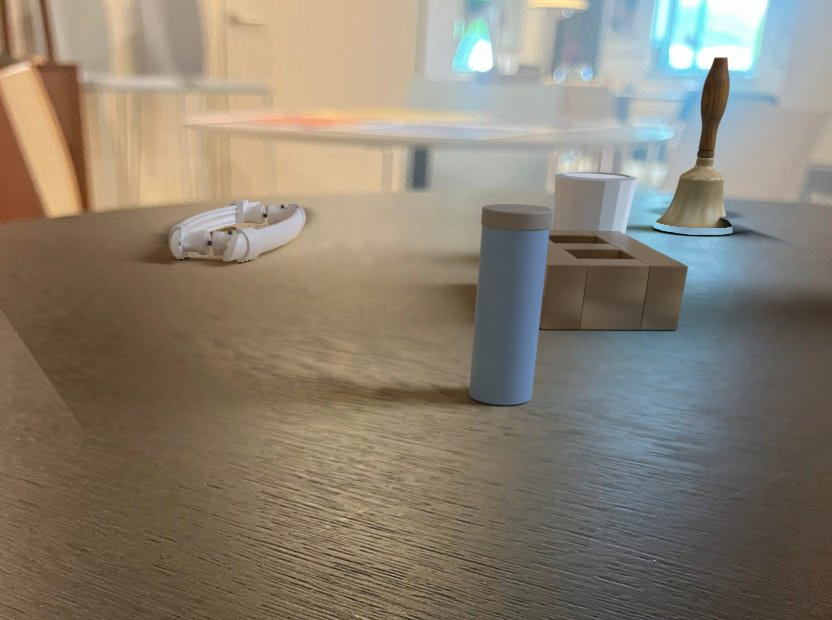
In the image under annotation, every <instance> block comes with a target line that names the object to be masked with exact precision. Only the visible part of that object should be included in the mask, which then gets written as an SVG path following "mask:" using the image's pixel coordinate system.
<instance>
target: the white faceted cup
mask: <svg viewBox="0 0 832 620" xmlns="http://www.w3.org/2000/svg"><path fill="white" fill-rule="evenodd" d="M637 182H638V177H636V176H633V175H628V174H623V173H616V172H615V173H614V172H601V171H569V172H561V173H557V174H554V204H553V207H554V209H553V230H576V231H620V232H622V233H623V234H625V235H626V230H627V227H628V223H629V218H630V214H631V209H632V206H633V202H634V201H633V200H634V197H635V192H636V191H635V190H636V189H637Z"/></svg>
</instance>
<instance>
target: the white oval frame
mask: <svg viewBox="0 0 832 620" xmlns="http://www.w3.org/2000/svg"><path fill="white" fill-rule="evenodd" d="M287 204H288V205H287V206H288V207H285V204H283V203H282V204H280V207H278V206H277V205H275V204H269V205H268V207H267V211H266V206H265V205H264V204H261V201H251V202H249V199H240V200H239V199H238V200H233V201H232V202H231V203H230V204H229V205H227V206H223V207H218V208H214V209H211V210H206V211H203V212H202V211H201V212H200V213H197V214H194V215H192V216H189V217H187V218H185V219H184V220H182V221H180V223H176V224H174V225H173V226H172V227H171V229H170V230H169V235H168V247H169V250H170V252H171V255H173V256H174V258H176V259H177V260H179V259H181V258H184V257H185V256H188V255H190V253H197V254H198V255H200V256H209V255H210V254H211V249H212V253H213V255H214V256H215V257H216V256H217V257H219V256H223V258H222V261H223V262H230V261H235V260H236V263H238V262H242V263H245V262H244V261H246V262H249V261H248V260H250V261H253V260H252V259H254V260H256V259H257V258H258V257H260V254H263V253H266V252H269V251H272V250H275V249H277V248H280V247H282V246H285V245H287V244H288V243H290V242H292V241H293V240H294V239H296V237H298V236H299V234H300V233H301V231H302V230H303V228H304V227H305V225H306V220H307V218H306V212H305V209H304V208H303V207H302V206H301V205H300V204H299V203H298V201H291V202H288V203H287ZM266 212H267V213H266ZM266 219H267V225H266V226H262V227H259V228H255V227H253V226H249V227H240V228H237V229H235V233H233V230H232V229H227V233H225V231H222V230H219V231H214V232H212V236H211V233H209V232H210V231H213V230H216V229H219V228H222V227H224V226H229V225H233V224H237V223H239V224H244V223H251V224H255V225H256V224H263V223H265V224H266ZM269 225H270V226H269ZM302 227H303V228H302Z"/></svg>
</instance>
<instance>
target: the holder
mask: <svg viewBox="0 0 832 620" xmlns="http://www.w3.org/2000/svg"><path fill="white" fill-rule="evenodd" d="M688 269H689V266H688V265H686V264H685V263H682V262H680V261H678V260H676V259H674V258H672V257H670V256H668V255H667V254H665V253H662V252H661V251H659V250H656V249H655V248H653V247H651V246H649V245H647V244H645V243H643V242H641V241H639V240H638V239H635V238H634V237H631V236H630V235H628V234H626V233H625V234H623V233H622V232H620V231H576V230H554V229H550V231H549V240H548V249H547V259H546V268H545V277H544V287H543V296H542V305H541V315H540V324H539V329H541V330H559V331H560V330H561V331H563V330H565V331H566V330H569V331H570V330H574V331H575V330H576V331H577V330H581V331H584V330H587V331H598V330H599V331H677V330H678V327H679V321H680V316H681V309H682V304H683V299H684V292H685V286H686V280H687V275H688Z"/></svg>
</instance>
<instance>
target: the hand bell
mask: <svg viewBox="0 0 832 620" xmlns="http://www.w3.org/2000/svg"><path fill="white" fill-rule="evenodd" d="M730 80H731V79H730V71H729V58H728V57H726V56H725V57H724V56H723V57H721V56H720V57H714V58H713V61H712V64H711V66H710V68H709V71H708V73H707V75H706V77H705V80H704V83H703V87H702V92H701V98H700V118H701V132H700V137H699V144H698V150H697V153H696V157H697V158H696V162H695V164H694V166H693V167H691V168H690V169H688V170H687V171H685V172H683V173H682V174H680V176H679V178H678V182H677V186H676V189H675V192H674V194H673V197H672V199H671V202H670V204H669V206H668V207H667V209H666V210H665V211H664V213H663V214H662V215H661V216H660V217H659V218H658V219H656V220H655V222H657V223H660V224H664V225H669V226H676V227H687V228H727V227H731V226H733V224H732V223H731V222H730V220H729V219H726V218H724V217H726V216H727V214H726V213H727V212H726V209H725V203H724V186H725V177H724V175H722V174H721V173H720V172H718V171H717V170H716V169H715V168H714V160H715V159H714V157H715V154H716V153H715V149H716V143H717V135H718V131H719V126H720V125H721V124H720V123H721V122H722V119H723V116H724V114H725V111H726V109H727V104H728V100H729V96H730V89H731V85H730V84H731V81H730Z"/></svg>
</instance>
